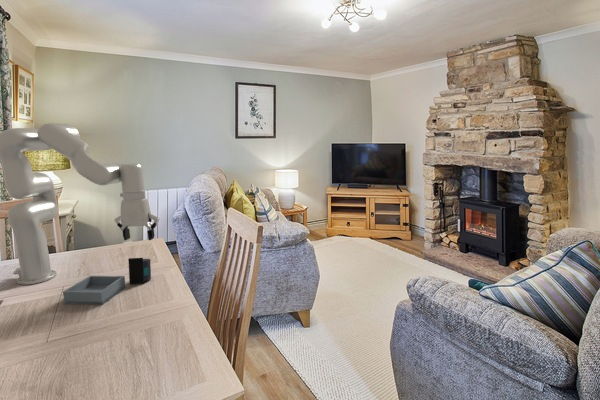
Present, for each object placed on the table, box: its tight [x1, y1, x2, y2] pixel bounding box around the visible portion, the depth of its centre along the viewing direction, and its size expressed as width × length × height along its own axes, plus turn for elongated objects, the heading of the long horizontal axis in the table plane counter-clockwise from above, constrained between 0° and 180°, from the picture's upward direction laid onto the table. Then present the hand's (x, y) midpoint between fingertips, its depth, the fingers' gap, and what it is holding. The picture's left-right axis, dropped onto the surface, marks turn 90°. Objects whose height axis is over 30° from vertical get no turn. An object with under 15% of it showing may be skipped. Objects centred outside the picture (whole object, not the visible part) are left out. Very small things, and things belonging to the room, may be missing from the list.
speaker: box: [127, 257, 152, 286], centre depth 131 cm, size 8×6×10 cm
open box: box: [62, 275, 127, 306], centre depth 119 cm, size 14×14×4 cm
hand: (139, 239), depth 129 cm, fingers open, 9 cm apart
